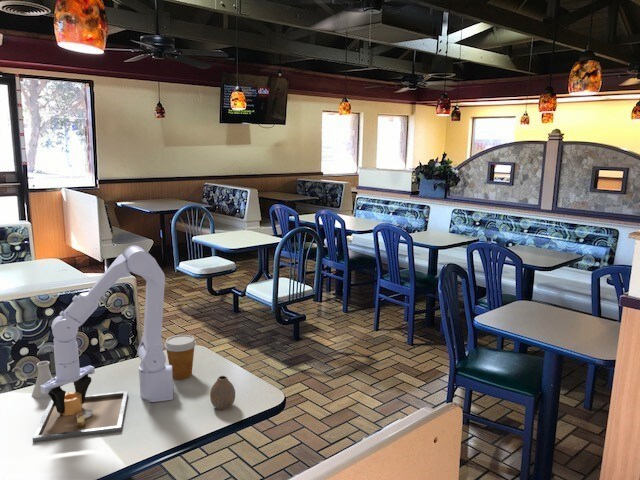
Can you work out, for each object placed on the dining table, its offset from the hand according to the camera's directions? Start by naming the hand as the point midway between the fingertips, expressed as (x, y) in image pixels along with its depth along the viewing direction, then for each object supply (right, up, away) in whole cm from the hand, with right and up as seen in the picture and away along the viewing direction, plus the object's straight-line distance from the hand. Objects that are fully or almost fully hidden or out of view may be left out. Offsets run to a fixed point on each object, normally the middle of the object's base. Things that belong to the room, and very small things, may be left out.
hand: (70, 407), depth 139 cm
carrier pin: (+6, -3, -7) cm, 10 cm away
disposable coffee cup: (+23, +2, +24) cm, 34 cm away
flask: (-12, 0, +10) cm, 16 cm away
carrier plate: (+5, -2, -2) cm, 6 cm away
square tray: (+5, -2, -2) cm, 6 cm away
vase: (+40, -2, +5) cm, 40 cm away
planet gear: (0, -1, 0) cm, 1 cm away
